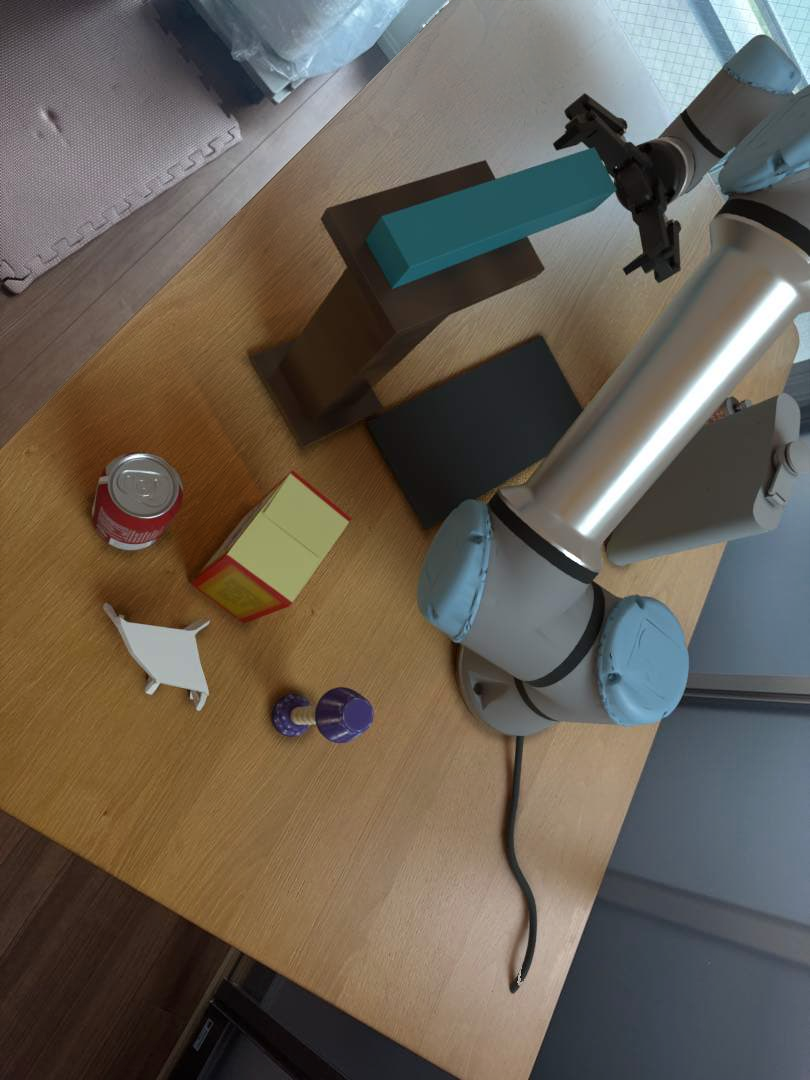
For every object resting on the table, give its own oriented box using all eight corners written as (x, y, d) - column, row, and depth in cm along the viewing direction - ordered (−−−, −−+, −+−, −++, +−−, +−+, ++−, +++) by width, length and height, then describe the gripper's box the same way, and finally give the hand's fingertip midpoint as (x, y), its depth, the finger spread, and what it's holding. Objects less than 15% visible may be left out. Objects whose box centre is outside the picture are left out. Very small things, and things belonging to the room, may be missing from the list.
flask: (629, 573, 96) (802, 536, 74) (603, 556, 95) (772, 513, 73) (660, 465, 102) (828, 401, 80) (636, 448, 101) (800, 378, 79)
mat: (539, 337, 97) (542, 335, 97) (590, 429, 98) (592, 428, 97) (364, 423, 83) (366, 422, 82) (424, 530, 84) (427, 529, 83)
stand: (348, 320, 85) (482, 153, 59) (395, 403, 85) (548, 274, 59) (229, 368, 77) (322, 201, 51) (281, 458, 78) (400, 339, 52)
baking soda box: (243, 623, 73) (291, 605, 59) (190, 584, 71) (225, 556, 57) (296, 550, 77) (353, 517, 62) (247, 511, 75) (293, 468, 61)
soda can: (155, 560, 70) (174, 535, 60) (81, 540, 68) (88, 511, 57) (174, 495, 72) (196, 460, 62) (103, 474, 70) (113, 433, 59)
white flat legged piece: (232, 634, 72) (244, 630, 68) (194, 715, 69) (204, 716, 65) (116, 581, 68) (121, 573, 64) (71, 663, 65) (73, 661, 61)
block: (571, 169, 63) (594, 146, 60) (593, 210, 63) (617, 189, 61) (364, 239, 52) (381, 215, 49) (391, 289, 52) (410, 267, 50)
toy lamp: (283, 681, 73) (342, 677, 59) (323, 699, 75) (391, 699, 60) (264, 727, 72) (320, 735, 57) (305, 744, 73) (371, 756, 58)
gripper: (674, 286, 91) (630, 333, 75) (573, 100, 86) (504, 110, 71) (734, 251, 86) (700, 294, 70) (629, 52, 81) (568, 51, 66)
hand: (601, 202), depth 70 cm, fingers open, 13 cm apart
